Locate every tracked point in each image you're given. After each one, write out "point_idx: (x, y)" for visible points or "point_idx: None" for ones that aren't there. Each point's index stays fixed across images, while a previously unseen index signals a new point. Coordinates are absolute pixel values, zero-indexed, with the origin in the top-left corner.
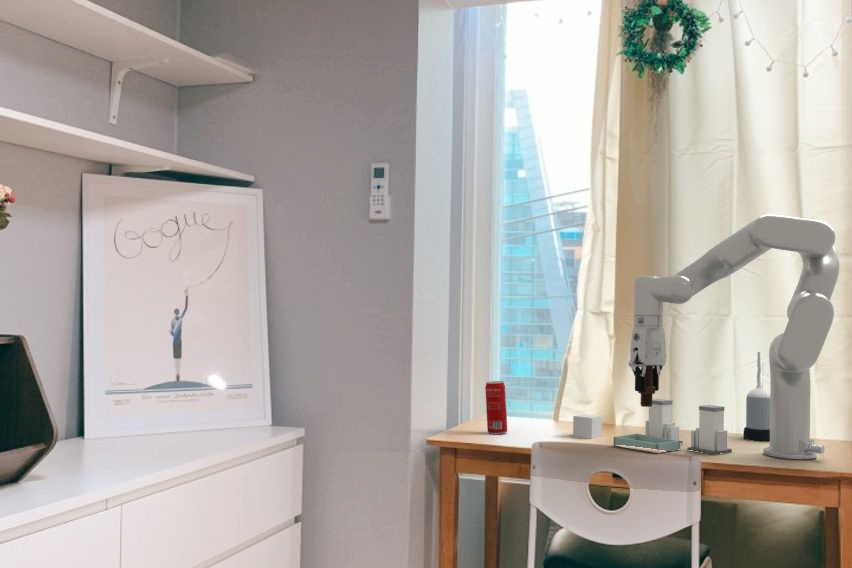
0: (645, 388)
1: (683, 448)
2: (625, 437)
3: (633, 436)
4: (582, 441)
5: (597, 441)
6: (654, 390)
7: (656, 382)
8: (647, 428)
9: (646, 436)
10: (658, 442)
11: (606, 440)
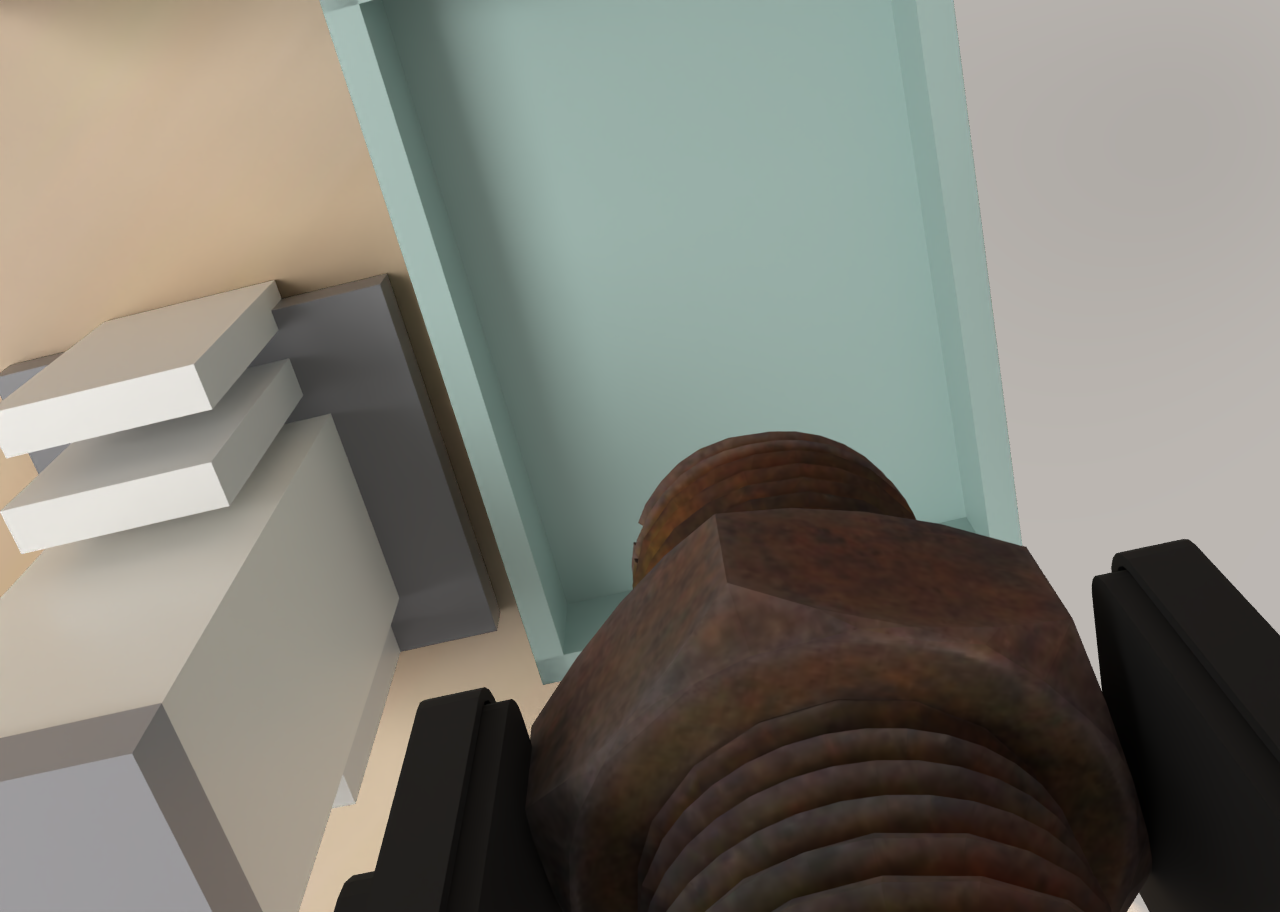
0: (1187, 590)
1: (200, 80)
2: None
3: None
4: None
5: None
6: (756, 544)
7: (491, 885)
8: (363, 710)
9: (522, 519)
10: (472, 314)
11: None
